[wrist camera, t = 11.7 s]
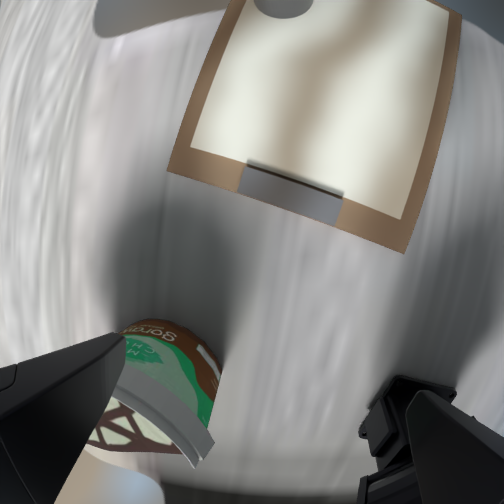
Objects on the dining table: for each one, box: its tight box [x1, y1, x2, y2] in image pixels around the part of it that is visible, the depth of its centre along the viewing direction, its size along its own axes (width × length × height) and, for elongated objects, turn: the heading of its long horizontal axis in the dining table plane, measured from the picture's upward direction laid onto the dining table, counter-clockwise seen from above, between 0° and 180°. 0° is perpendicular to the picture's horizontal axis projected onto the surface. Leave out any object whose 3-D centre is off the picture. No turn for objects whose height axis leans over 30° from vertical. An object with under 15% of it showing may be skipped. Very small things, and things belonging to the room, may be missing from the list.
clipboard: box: [167, 0, 462, 254], centre depth 17 cm, size 16×19×1 cm
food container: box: [87, 319, 222, 468], centre depth 18 cm, size 12×6×10 cm, turn 104°
